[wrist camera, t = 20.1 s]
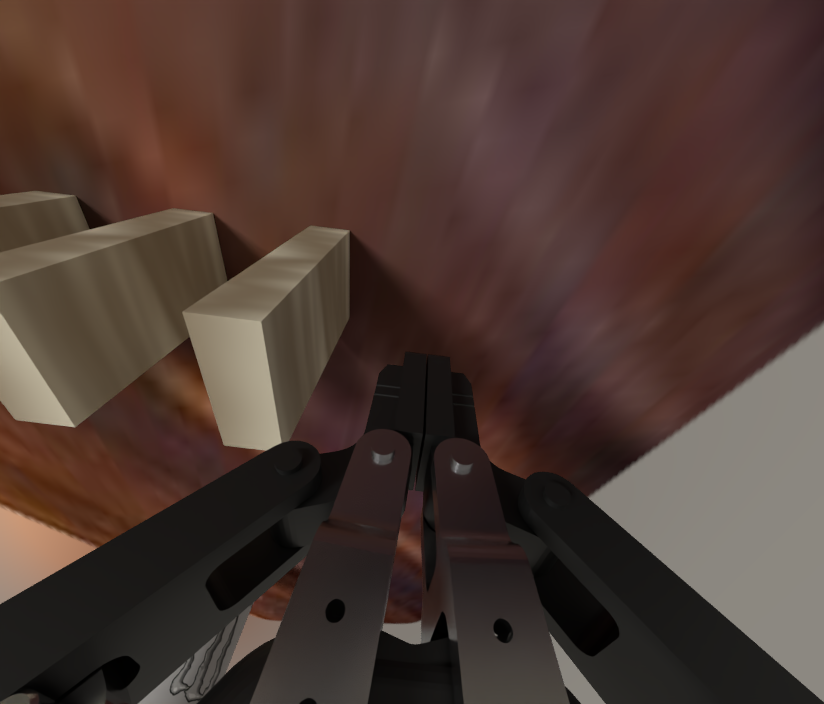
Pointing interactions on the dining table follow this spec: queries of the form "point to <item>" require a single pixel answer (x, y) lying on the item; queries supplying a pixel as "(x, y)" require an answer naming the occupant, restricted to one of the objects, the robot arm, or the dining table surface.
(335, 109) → the dining table surface
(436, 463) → the robot arm
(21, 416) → the domino
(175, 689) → the energy drink can
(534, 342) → the dining table surface
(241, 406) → the domino
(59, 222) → the domino
